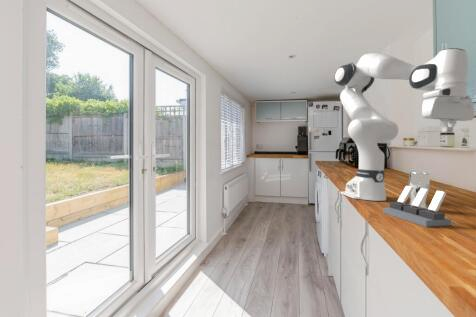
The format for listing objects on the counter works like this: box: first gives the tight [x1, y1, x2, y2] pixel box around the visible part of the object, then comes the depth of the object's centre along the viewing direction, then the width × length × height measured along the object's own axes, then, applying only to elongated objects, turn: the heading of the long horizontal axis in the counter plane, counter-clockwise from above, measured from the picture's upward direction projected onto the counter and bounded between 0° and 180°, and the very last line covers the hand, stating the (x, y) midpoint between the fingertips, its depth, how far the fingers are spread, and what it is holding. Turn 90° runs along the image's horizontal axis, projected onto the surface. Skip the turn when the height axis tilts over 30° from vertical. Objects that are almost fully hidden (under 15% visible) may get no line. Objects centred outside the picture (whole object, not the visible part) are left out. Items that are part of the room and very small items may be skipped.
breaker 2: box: [412, 188, 430, 208], centre depth 88 cm, size 2×1×7 cm
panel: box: [382, 201, 452, 228], centre depth 87 cm, size 17×10×4 cm, turn 13°
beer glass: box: [408, 171, 431, 209], centre depth 102 cm, size 7×7×15 cm
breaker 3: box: [427, 190, 447, 212], centre depth 82 cm, size 2×1×7 cm, turn 13°
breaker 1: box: [397, 185, 413, 204], centre depth 93 cm, size 2×1×7 cm
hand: (447, 132), depth 91 cm, fingers closed
